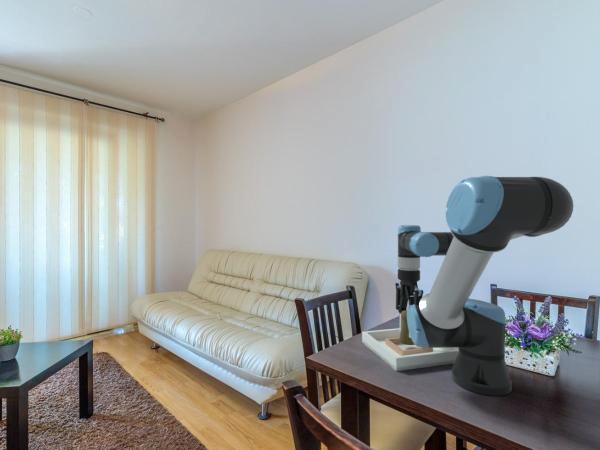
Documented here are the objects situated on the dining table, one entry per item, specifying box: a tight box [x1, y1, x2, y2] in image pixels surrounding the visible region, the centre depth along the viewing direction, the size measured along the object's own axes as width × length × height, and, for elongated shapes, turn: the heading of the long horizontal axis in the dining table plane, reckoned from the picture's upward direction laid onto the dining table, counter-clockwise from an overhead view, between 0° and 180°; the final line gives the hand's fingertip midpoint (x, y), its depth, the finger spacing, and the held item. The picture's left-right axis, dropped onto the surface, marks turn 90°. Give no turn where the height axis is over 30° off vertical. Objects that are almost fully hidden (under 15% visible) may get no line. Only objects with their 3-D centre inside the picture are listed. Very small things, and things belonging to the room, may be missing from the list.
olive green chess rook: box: [399, 309, 415, 345], centre depth 114 cm, size 6×6×11 cm
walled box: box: [361, 327, 459, 372], centre depth 114 cm, size 24×24×4 cm
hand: (408, 334), depth 114 cm, fingers closed on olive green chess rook, 5 cm apart
